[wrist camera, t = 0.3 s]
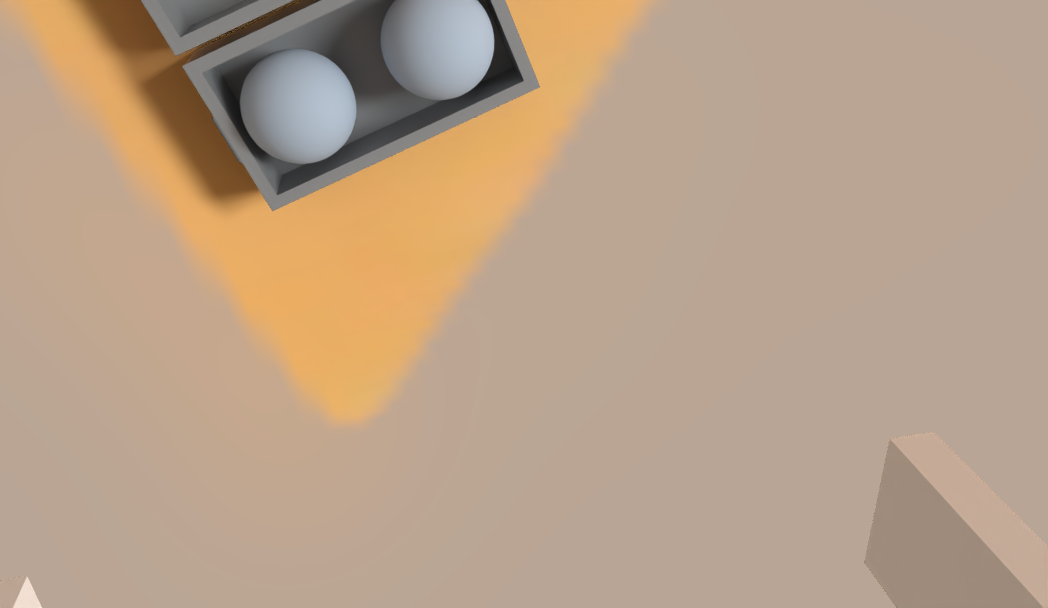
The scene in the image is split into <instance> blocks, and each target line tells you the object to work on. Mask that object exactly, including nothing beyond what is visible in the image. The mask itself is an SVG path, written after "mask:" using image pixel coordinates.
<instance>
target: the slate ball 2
mask: <svg viewBox="0 0 1048 608" xmlns="http://www.w3.org/2000/svg"><path fill="white" fill-rule="evenodd" d="M381 49H382V54H383V58H384V61H385V63H386V65H387V68H388V69H389V71H390V73H391V74H392V76H393V77H394V78H395V80H396V81H397V82H398V83H399V84H400V85H401V86H402V87H404V88H405V89H406V90H408V91H409V92H411V93H413V94H415V95H417V96H420V97H422V98H426V99H431V100H448V99H453V98H456V97H459V96H461V95H463V94H465V93H467V92H469V91H470V90H471V89H473V88H474V87H475V86H476V85H477V84H478V83H479V82H480V81H481V80H482V78H483V77H484V76H485V74H486V72H487V70H488V68H489V66H490V64H491V60H492V57H493V52H494V33H493V28H492V25H491V22H490V19H489V17H488V15H487V13H486V11H485V9H484V8H483V6H482V5H481V4H480V3H479V1H478V0H395V1H394V2H393V3H392V5H391V6H390V8H389V9H388V11H387V13H386V16H385V18H384V21H383V25H382V29H381Z"/></svg>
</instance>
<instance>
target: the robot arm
mask: <svg viewBox="0 0 1048 608" xmlns="http://www.w3.org/2000/svg"><path fill="white" fill-rule="evenodd" d="M864 563H865V564H866V566H867V567H868V568H869V570H870V571H871V573H872V574H873V575H874V577H875V578H876V579H877V581H878V582H879V584H880V585H881V586H882V587H883V589H884V591H885V592H886V594H887V595H888V596H889V598H890V599H891V600H892V602H893V603H894V604H895V606H896V608H1048V546H1046V544H1045V543H1044V542H1042V540H1040V538H1039V537H1038V536H1037V535H1035V533H1034V532H1033V531H1032V530H1031V529H1030V528H1029V527H1028V526H1026V524H1025V523H1024V522H1023V521H1022V520H1021V519H1020V518H1019V517H1018V516H1017V515H1016V514H1014V513H1013V511H1012V510H1011V509H1009V507H1008V506H1006V504H1005V503H1004V502H1003V501H1002V500H1000V498H999V497H998V496H997V495H996V494H995V493H994V492H993V491H992V490H991V489H990V488H989V487H988V486H987V485H986V484H985V483H984V482H983V481H982V480H981V479H980V478H979V477H978V476H977V475H976V474H975V473H974V472H973V471H972V470H971V469H970V468H969V467H968V466H967V465H966V464H965V463H964V462H963V461H962V460H961V459H960V458H959V457H958V456H957V455H956V454H955V453H954V452H953V451H952V450H951V449H950V448H949V447H947V445H946V444H945V443H944V442H943V441H942V440H941V439H940V438H939V437H938V436H937V435H936V434H935V433H934V432H929V433H923V434H917V435H911V436H905V437H898V438H892V439H890V440H889V445H888V450H887V455H886V459H885V464H884V469H883V474H882V479H881V484H880V489H879V493H878V498H877V503H876V508H875V513H874V518H873V523H872V527H871V532H870V537H869V542H868V547H867V552H866V557H865V562H864ZM0 608H42V607H41V605H40V603H39V601H38V598H37V596H36V594H35V592H34V590H33V588H32V586H31V583H30V581H29V579H28V577H27V576H24V577H18V578H12V579H6V580H0Z"/></svg>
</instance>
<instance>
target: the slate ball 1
mask: <svg viewBox="0 0 1048 608" xmlns="http://www.w3.org/2000/svg"><path fill="white" fill-rule="evenodd" d="M240 109H241V115H242V119H243V122H244V125H245V127H246V129H247V131H248V133H249V135H250V136H251V138H252V139H253V140H254V141H255V143H256V144H257V145H258V146H259V147H260V148H261V149H263V150H264V151H265V152H267V153H268V154H270V155H271V156H273V157H275V158H277V159H280V160H282V161H286V162H290V163H296V164H307V163H314V162H318V161H321V160H324V159H326V158H328V157H330V156H331V155H333V154H334V153H335V152H337V151H338V150H339V149H340V148H341V147H342V146H343V145H344V144H345V142H346V141H347V140H348V138H349V136H350V135H351V132H352V130H353V127H354V123H355V119H356V100H355V95H354V92H353V89H352V86H351V84H350V82H349V80H348V79H347V77H346V75H345V74H344V73H343V72H342V70H341V69H340V68H339V67H338V66H337V65H336V64H335V63H333V62H332V61H331V60H329V59H328V58H326V57H324V56H323V55H320V54H318V53H316V52H313V51H309V50H304V49H284V50H280V51H277V52H274V53H272V54H270V55H268V56H266V57H264V58H263V59H262V60H260V61H259V62H258V63H257V64H256V65H255V66H254V67H253V68H252V69H251V71H250V72H249V74H248V75H247V77H246V79H245V81H244V84H243V87H242V91H241V97H240Z"/></svg>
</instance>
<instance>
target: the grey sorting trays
mask: <svg viewBox="0 0 1048 608" xmlns="http://www.w3.org/2000/svg"><path fill="white" fill-rule="evenodd" d="M141 1H142V3H143V5H144V6H145V8H146V9H147V11H148V13H149V14H150V16H151V17H152V19H153V21H154V22H155V24H156V25H157V27H158V29H159V30H160V32H161V33H162V35H163V37H164V38H165V40H166V41H167V43H168V45H169V46H170V48H171V49H172V51H173V53H174V54H175V56H177V55H179V54H181V53H183V52H186V51H188V50H190V49H192V48H194V47H196V46H198V45H200V44H202V43H205V42H207V41H209V40H211V39H213V38H215V37H217V36H219V35H221V34H224V33H226V32H228V31H230V30H232V29H234V28H236V27H238V26H240V25H242V24H245V23H247V22H249V21H251V20H253V19H255V18H257V17H259V16H261V15H264V14H266V13H268V12H270V11H272V10H274V9H276V8H278V7H280V6H283V5H285V4H287V3H289V2H291V1H293V0H141ZM394 1H395V0H301V1H299V2H297V3H294V4H292V5H290V6H288V7H286V8H284V9H282V10H280V11H278V12H275V13H273V14H271V15H269V16H267V17H265V18H263V19H261V20H259V21H256V22H254V23H252V24H250V25H248V26H246V27H244V28H242V29H240V30H237V31H235V32H233V33H231V34H229V35H227V36H225V37H223V38H221V39H218V40H216V41H214V42H212V43H210V44H208V45H206V46H204V47H202V48H199V49H197V50H196V51H195V52H194V53H193V54H192V55H191V56H190V57H189V59H188V60H187V61H186V62H185V63H184V64H183V66H182V67H183V69H184V70H185V72H186V73H187V75H188V77H189V78H190V80H191V81H192V83H193V85H194V86H195V88H196V90H197V91H198V93H199V94H200V96H201V98H202V99H203V101H204V102H205V104H206V106H207V107H208V109H209V110H210V112H211V114H212V115H213V118H212V120H213V121H214V123H215V124H216V126H217V127H218V129H219V131H220V132H221V134H222V135H223V137H224V139H225V140H226V142H227V143H228V145H229V147H230V148H231V150H232V151H233V153H234V155H235V156H236V158H237V159H238V161H239V163H243V165H244V166H245V168H246V170H247V171H248V173H249V174H250V176H251V178H252V179H253V181H254V182H255V184H256V186H257V187H258V189H259V191H260V192H261V194H262V195H263V197H264V199H265V200H266V202H267V203H268V205H269V207H270V208H271V210H272V211H274V210H276V209H278V208H280V207H283V206H285V205H287V204H289V203H291V202H293V201H295V200H298V199H300V198H302V197H304V196H306V195H308V194H311V193H313V192H315V191H317V190H319V189H321V188H323V187H326V186H328V185H330V184H332V183H334V182H336V181H339V180H341V179H343V178H345V177H347V176H349V175H352V174H354V173H356V172H358V171H360V170H362V169H364V168H367V167H369V166H371V165H373V164H375V163H377V162H380V161H382V160H384V159H386V158H388V157H390V156H392V155H395V154H397V153H399V152H401V151H403V150H405V149H408V148H410V147H412V146H414V145H416V144H418V143H421V142H423V141H425V140H427V139H429V138H431V137H433V136H436V135H438V134H440V133H442V132H444V131H446V130H449V129H451V128H453V127H455V126H457V125H459V124H461V123H464V122H466V121H468V120H470V119H472V118H474V117H477V116H479V115H481V114H483V113H485V112H487V111H489V110H492V109H494V108H496V107H498V106H500V105H502V104H505V103H507V102H509V101H511V100H513V99H515V98H518V97H520V96H522V95H524V94H526V93H528V92H530V91H533V90H535V89H537V88H539V87H540V86H539V83H538V81H537V78H536V76H535V73H534V71H533V68H532V66H531V63H530V61H529V58H528V56H527V53H526V51H525V48H524V46H523V43H522V41H521V38H520V36H519V33H518V31H517V29H516V26H515V24H514V21H513V19H512V16H511V14H510V11H509V9H508V6H507V4H506V1H505V0H478V1H479V3H480V4H481V5H482V6H483V8H484V9H485V11H486V13H487V15H488V17H489V19H490V22H491V25H492V28H493V33H494V52H493V57H492V60H491V64H490V66H489V68H488V70H487V72H486V74H485V76H484V77H483V78H482V80H481V81H480V82H479V83H478V84H477V85H476V86H475V87H474V88H473V89H471V90H470V91H469V92H467V93H465V94H463V95H461V96H459V97H456V98H453V99H448V100H431V99H426V98H422V97H420V96H417V95H415V94H413V93H411V92H409V91H408V90H406V89H405V88H404V87H402V86H401V85H400V84H399V83H398V82H397V81H396V80H395V78H394V77H393V76H392V74H391V73H390V71H389V69H388V68H387V65H386V63H385V61H384V58H383V54H382V49H381V29H382V25H383V21H384V18H385V16H386V13H387V11H388V9H389V8H390V6H391V5H392V3H393V2H394ZM284 49H304V50H309V51H313V52H316V53H318V54H320V55H323V56H324V57H326V58H328V59H329V60H331V61H332V62H333V63H335V64H336V65H337V66H338V67H339V68H340V69H341V70H342V72H343V73H344V74H345V75H346V77H347V79H348V80H349V82H350V84H351V86H352V89H353V92H354V95H355V100H356V119H355V123H354V127H353V130H352V132H351V135H350V136H349V138H348V140H347V141H346V142H345V144H344V145H343V146H342V147H341V148H340V149H339V150H338V151H337V152H335V153H334V154H333V155H331V156H330V157H328V158H326V159H324V160H321V161H318V162H314V163H307V164H296V163H290V162H286V161H282V160H280V159H277V158H275V157H273V156H271V155H270V154H268V153H267V152H265V151H264V150H263V149H261V148H260V147H259V146H258V145H257V144H256V143H255V141H254V140H253V139H252V138H251V136H250V135H249V133H248V131H247V129H246V127H245V125H244V122H243V119H242V115H241V109H240V97H241V91H242V87H243V84H244V81H245V79H246V77H247V75H248V74H249V72H250V71H251V69H252V68H253V67H254V66H255V65H256V64H257V63H258V62H259V61H260V60H262V59H263V58H264V57H266V56H268V55H270V54H272V53H274V52H277V51H280V50H284Z"/></svg>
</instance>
